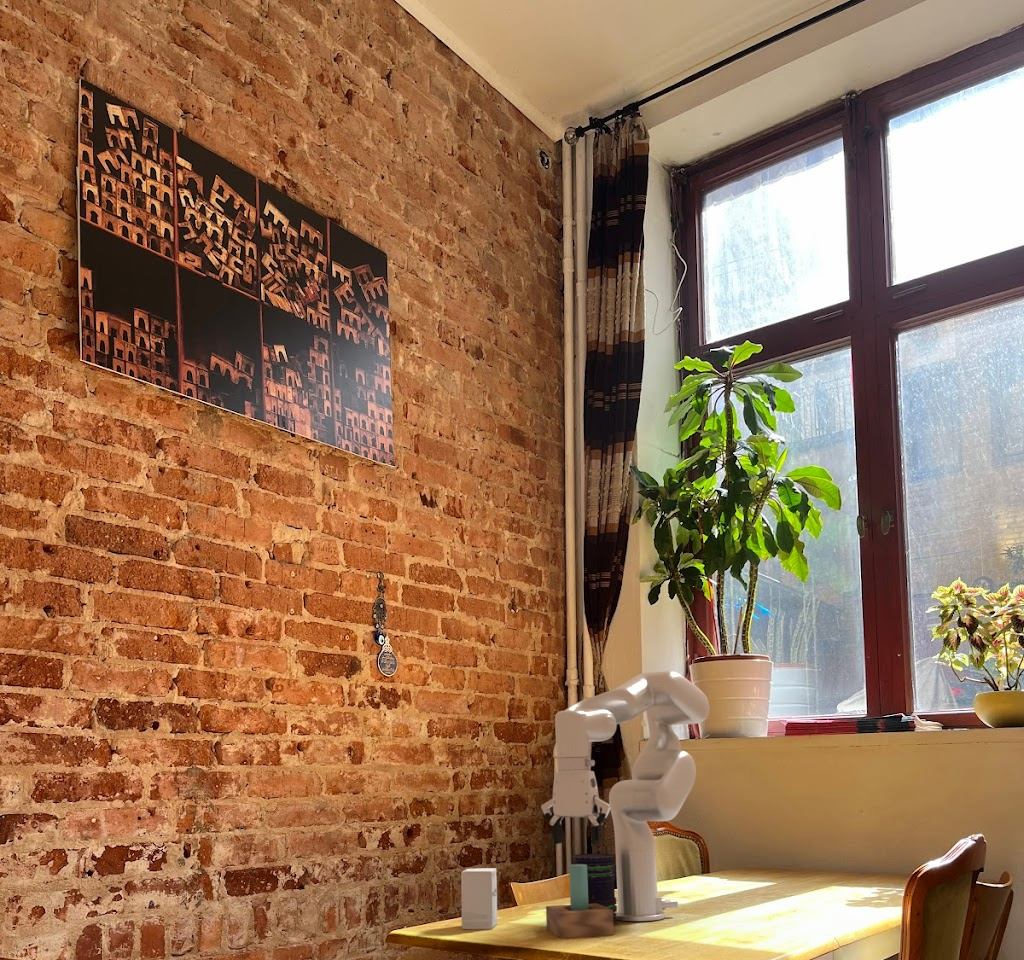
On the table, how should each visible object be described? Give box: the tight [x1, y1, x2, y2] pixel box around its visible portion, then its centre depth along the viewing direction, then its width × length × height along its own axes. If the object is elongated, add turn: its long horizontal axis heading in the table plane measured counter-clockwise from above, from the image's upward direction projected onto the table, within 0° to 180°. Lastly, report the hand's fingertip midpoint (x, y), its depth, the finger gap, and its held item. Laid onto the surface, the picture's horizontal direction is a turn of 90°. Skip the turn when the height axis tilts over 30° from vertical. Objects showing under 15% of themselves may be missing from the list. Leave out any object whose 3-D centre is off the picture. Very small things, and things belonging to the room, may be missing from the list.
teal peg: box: [568, 864, 589, 911], centre depth 251 cm, size 4×4×14 cm
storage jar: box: [572, 853, 618, 926], centre depth 263 cm, size 10×10×15 cm
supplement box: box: [460, 867, 498, 930], centre depth 261 cm, size 7×7×13 cm
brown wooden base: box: [545, 903, 615, 939], centre depth 250 cm, size 12×12×5 cm
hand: (577, 843), depth 254 cm, fingers open, 9 cm apart
